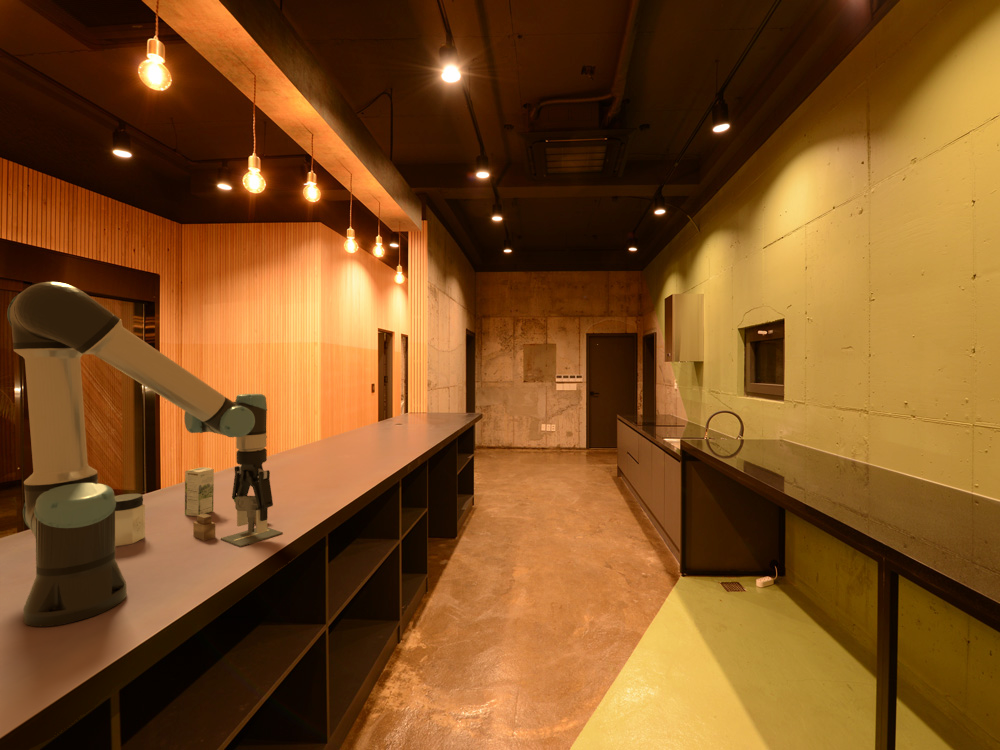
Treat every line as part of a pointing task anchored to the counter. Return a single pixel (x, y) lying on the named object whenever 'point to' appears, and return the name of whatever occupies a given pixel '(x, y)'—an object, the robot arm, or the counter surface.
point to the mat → (250, 537)
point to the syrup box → (199, 491)
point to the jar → (129, 519)
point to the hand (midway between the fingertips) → (252, 528)
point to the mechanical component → (247, 509)
